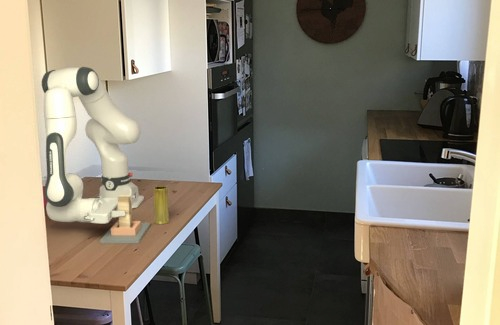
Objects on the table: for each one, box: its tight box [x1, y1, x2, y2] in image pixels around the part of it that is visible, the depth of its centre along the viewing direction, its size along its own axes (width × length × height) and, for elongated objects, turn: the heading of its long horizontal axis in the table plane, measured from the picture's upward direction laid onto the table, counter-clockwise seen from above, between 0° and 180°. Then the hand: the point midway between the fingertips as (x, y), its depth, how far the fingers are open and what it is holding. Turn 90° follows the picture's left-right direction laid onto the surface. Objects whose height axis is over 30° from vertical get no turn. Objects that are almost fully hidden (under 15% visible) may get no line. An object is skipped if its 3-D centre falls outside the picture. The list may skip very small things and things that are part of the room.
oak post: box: [118, 195, 134, 228], centre depth 208 cm, size 4×4×12 cm
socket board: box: [99, 220, 152, 244], centre depth 210 cm, size 20×14×4 cm
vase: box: [153, 185, 171, 225], centre depth 221 cm, size 6×6×14 cm
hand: (127, 210), depth 208 cm, fingers closed on oak post, 4 cm apart
